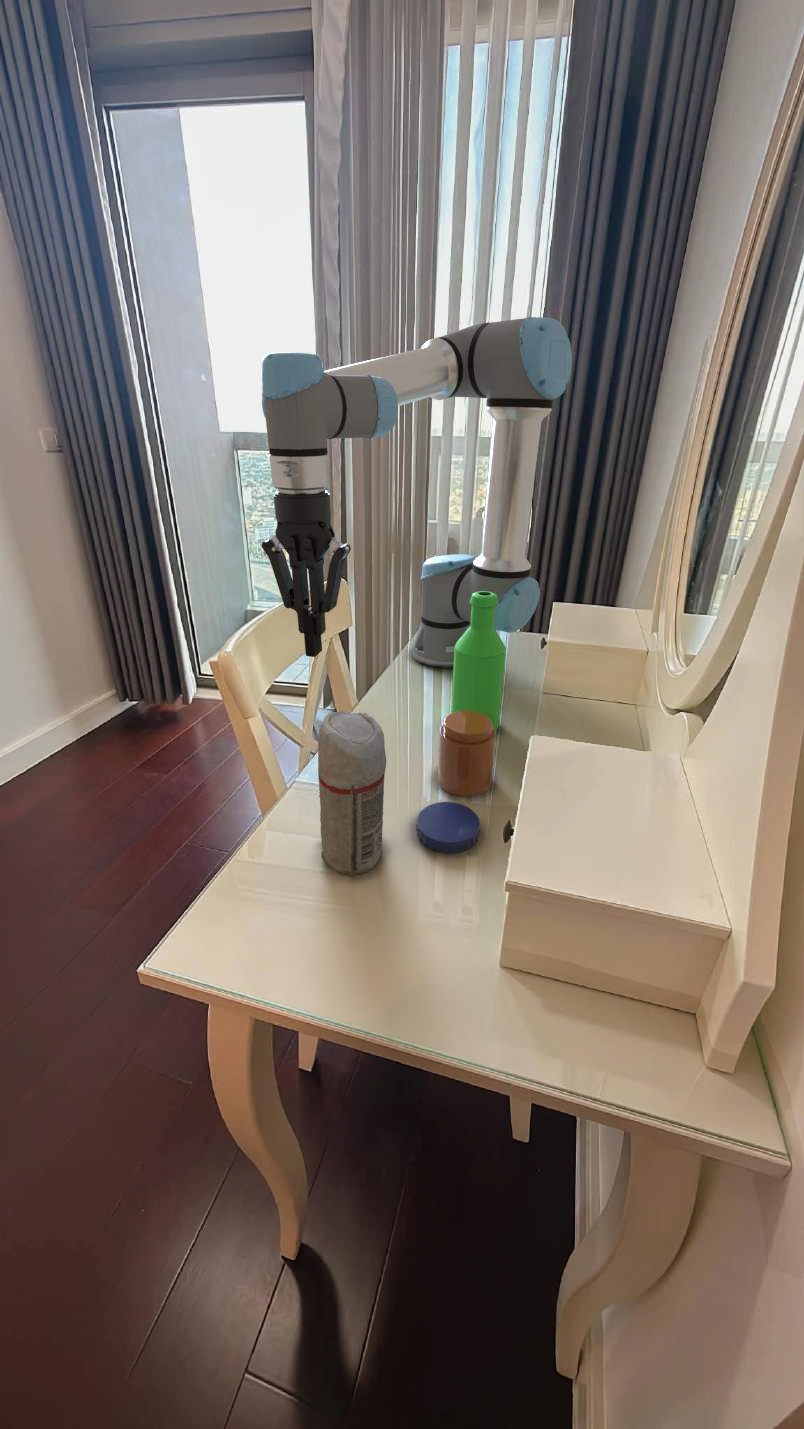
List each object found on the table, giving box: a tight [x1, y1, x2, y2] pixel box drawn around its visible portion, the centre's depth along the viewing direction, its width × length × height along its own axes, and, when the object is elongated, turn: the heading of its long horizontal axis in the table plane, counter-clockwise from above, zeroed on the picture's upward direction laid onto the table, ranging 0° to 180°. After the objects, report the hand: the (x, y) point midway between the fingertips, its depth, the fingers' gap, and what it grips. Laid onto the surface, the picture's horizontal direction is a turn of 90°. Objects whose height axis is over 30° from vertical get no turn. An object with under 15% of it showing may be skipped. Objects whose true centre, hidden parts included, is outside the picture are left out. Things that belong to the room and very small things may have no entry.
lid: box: [415, 801, 481, 854], centre depth 78 cm, size 9×9×2 cm
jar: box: [437, 711, 497, 797], centre depth 86 cm, size 8×8×11 cm
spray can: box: [317, 710, 387, 876], centre depth 70 cm, size 8×8×20 cm
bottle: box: [450, 591, 507, 730], centre depth 98 cm, size 9×9×25 cm
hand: (314, 653), depth 87 cm, fingers closed
